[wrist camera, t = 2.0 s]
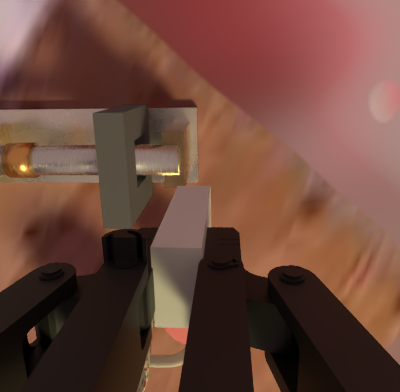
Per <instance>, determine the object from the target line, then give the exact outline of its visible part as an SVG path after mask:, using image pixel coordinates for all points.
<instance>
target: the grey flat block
mask: <svg viewBox="0 0 400 392" xmlns="http://www.w3.org/2000/svg"><path fill="white" fill-rule="evenodd" d="M92 114H93V125H94V135H95V145H96V156H97V166H98V176H99V186H100V197H101V207H102V217H103V228H117V229H132V227H133V225H134V224H135V222H136V220H137V219H138V217H139V216H140V214H141V212H142V211H143V209H144V208H145V206H146V204H147V203H148V201H149V199H150V198H151V196H152V195H153V191H152V175H137V173H136V158H135V145H137V144H150V136H149V117H148V104H126V105H121V106H117V107H113V108H110V109H106V110H102V111H98V112H95V113H92Z"/></svg>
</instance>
